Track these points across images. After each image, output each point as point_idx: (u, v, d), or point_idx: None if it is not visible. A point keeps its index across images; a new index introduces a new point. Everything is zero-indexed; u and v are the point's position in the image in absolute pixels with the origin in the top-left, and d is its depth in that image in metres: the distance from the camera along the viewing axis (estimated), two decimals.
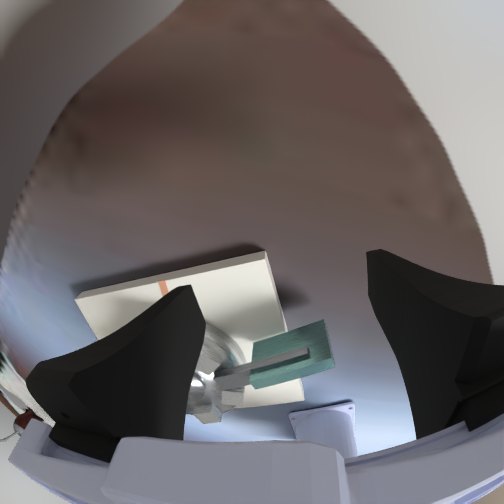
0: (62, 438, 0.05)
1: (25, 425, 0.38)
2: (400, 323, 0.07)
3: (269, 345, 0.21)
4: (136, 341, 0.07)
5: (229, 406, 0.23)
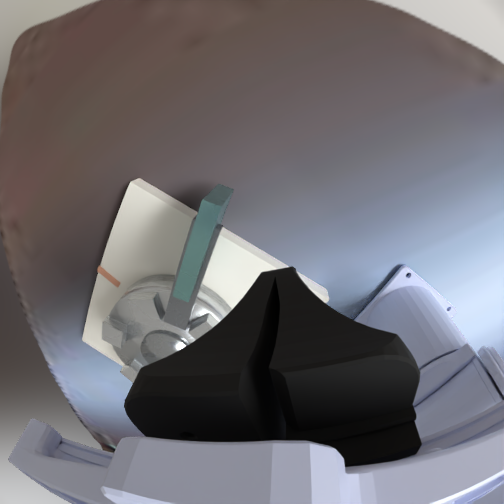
0: None
1: None
2: None
3: None
4: (262, 328, 0.06)
5: None
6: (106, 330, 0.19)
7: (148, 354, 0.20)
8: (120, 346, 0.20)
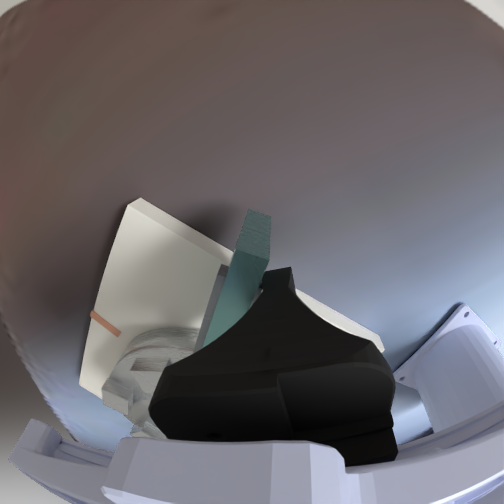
0: None
1: None
2: None
3: None
4: (285, 324, 0.06)
5: None
6: (107, 397, 0.14)
7: None
8: (127, 413, 0.14)
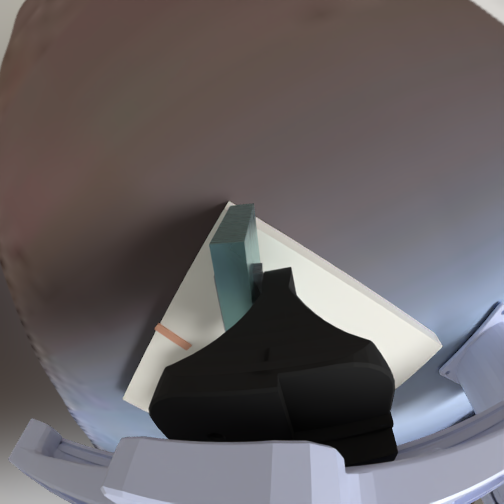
0: None
1: None
2: None
3: None
4: (286, 324, 0.06)
5: None
6: None
7: None
8: None
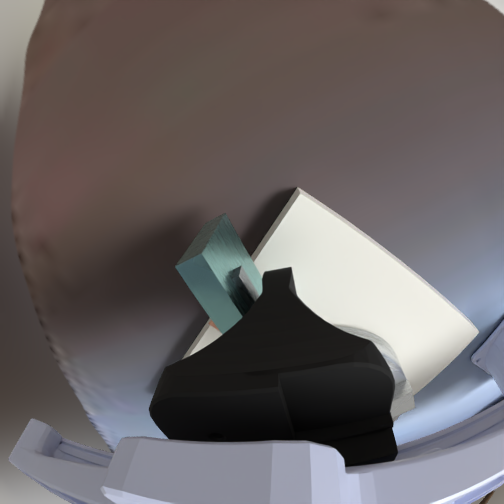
0: None
1: None
2: None
3: None
4: (286, 324, 0.06)
5: None
6: None
7: None
8: None
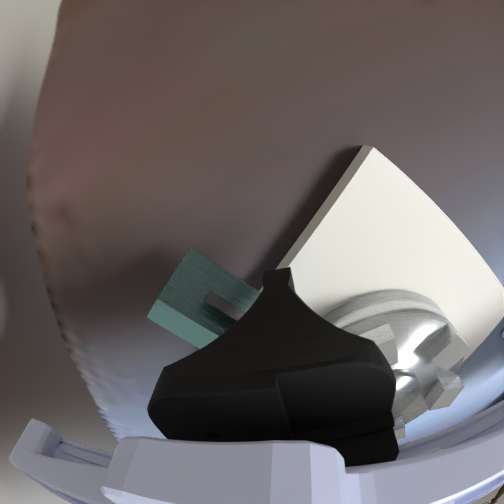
0: None
1: None
2: None
3: None
4: (285, 324, 0.06)
5: (424, 326, 0.11)
6: None
7: None
8: None
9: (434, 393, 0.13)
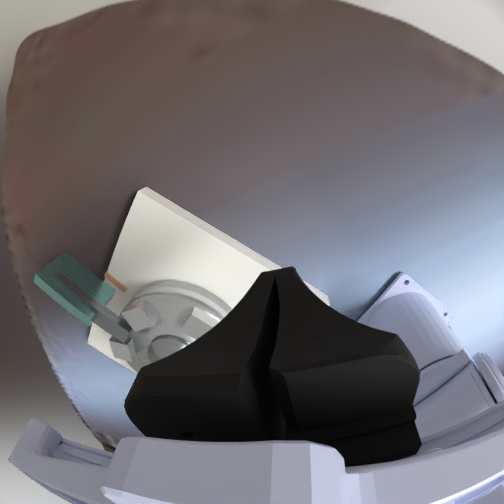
0: None
1: None
2: None
3: None
4: (262, 328, 0.06)
5: (172, 304, 0.19)
6: None
7: None
8: None
9: None
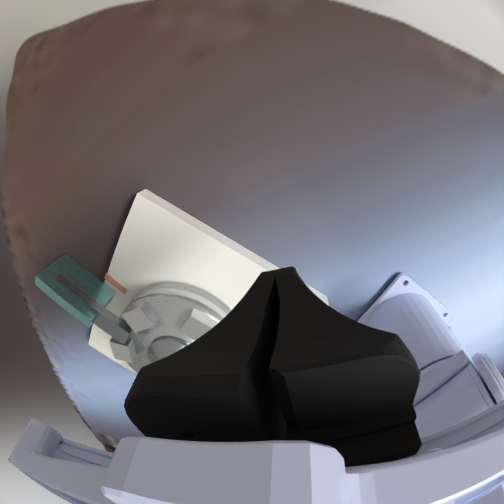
0: None
1: None
2: None
3: None
4: (262, 328, 0.06)
5: (172, 306, 0.19)
6: None
7: None
8: None
9: None
